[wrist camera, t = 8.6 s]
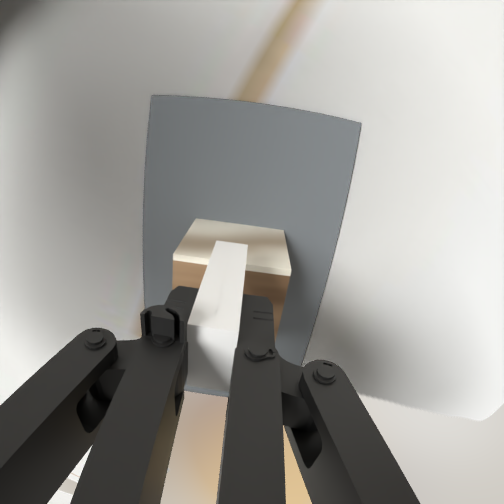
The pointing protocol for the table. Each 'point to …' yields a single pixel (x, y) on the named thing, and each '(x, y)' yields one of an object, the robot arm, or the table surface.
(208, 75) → the table surface
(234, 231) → the light wooden block
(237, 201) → the rubber mat
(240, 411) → the robot arm
